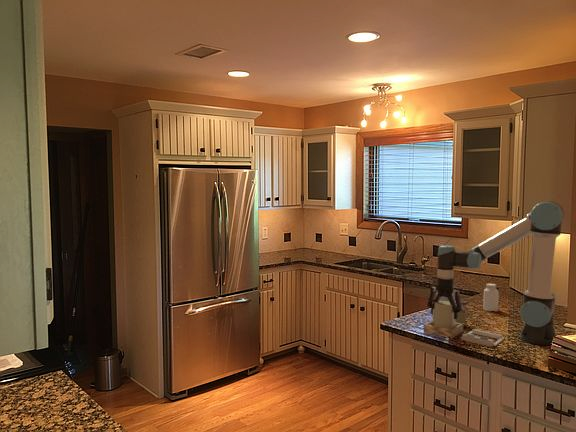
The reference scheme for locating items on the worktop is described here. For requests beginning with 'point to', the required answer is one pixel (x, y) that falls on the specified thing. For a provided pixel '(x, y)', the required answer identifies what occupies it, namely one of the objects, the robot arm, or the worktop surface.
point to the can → (443, 314)
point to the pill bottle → (490, 298)
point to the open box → (443, 329)
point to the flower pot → (461, 316)
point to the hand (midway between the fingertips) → (443, 323)
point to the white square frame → (482, 338)
